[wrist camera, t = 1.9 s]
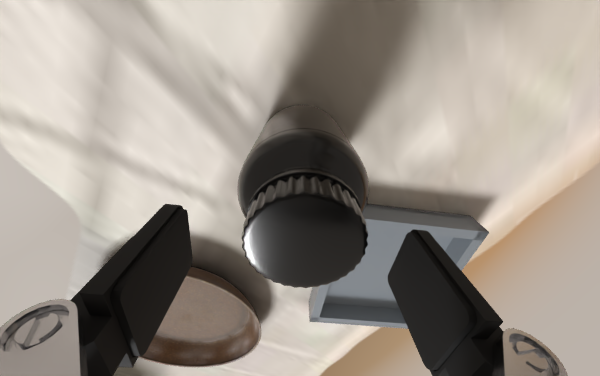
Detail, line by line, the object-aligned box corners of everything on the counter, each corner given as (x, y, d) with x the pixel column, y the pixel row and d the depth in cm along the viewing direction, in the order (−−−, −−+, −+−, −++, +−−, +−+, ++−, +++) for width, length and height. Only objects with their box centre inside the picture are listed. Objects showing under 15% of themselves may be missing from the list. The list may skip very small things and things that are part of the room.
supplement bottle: (358, 146, 19) (433, 251, 8) (300, 194, 21) (302, 323, 11) (303, 81, 16) (312, 117, 6) (243, 143, 19) (174, 248, 8)
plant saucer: (208, 358, 37) (201, 383, 34) (76, 305, 30) (52, 331, 27) (296, 303, 30) (296, 329, 27) (150, 216, 23) (129, 238, 20)
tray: (335, 200, 22) (339, 216, 19) (470, 215, 23) (489, 232, 20) (308, 302, 29) (309, 321, 27) (410, 310, 30) (419, 329, 28)
